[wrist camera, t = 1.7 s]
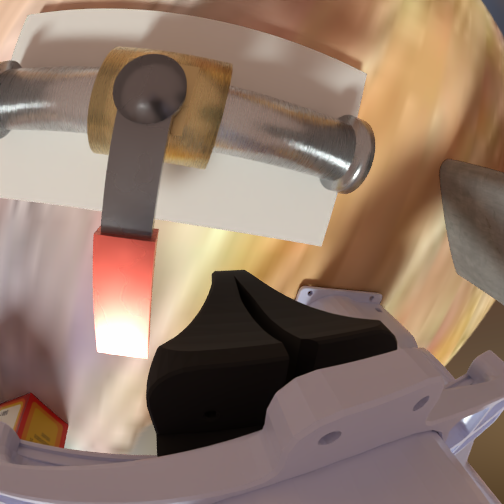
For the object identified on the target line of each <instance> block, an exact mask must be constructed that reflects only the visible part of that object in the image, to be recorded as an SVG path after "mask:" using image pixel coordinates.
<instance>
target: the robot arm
mask: <svg viewBox="0 0 504 504" xmlns="http://www.w3.org/2000/svg"><path fill="white" fill-rule="evenodd" d="M309 291H311V293H309V294H308V292H309ZM370 297H371V298H370ZM369 298H370V299H369ZM381 300H382V295H381V294H380V293H375V292H364V291H353V290H342V289H332V288H322V287H312V286H302V287H301V288H300V289H299V291H298V294H297V297H296V300H293V299H291V298H289V297H287V296H285V295H283V294H282V293H280V292H278V291H276V290H275V289H273V288H271V287H270V286H268V285H267V284H265V283H263V282H262V281H260V280H259V279H258V278H256V277H255V276H253V275H252V274H250V273H249V272H247V271H245V270H233V271H215V272H213V273H212V285H211V288H210V291H209V294H208V296H207V299H206V301H205V303H204V305H203V306H202V308H201V310H200V311H199V313H198V314H197V316H196V317H195V318H194V319H193V321H192V322H191V323H190V324H189V325H188V326H187V327H186V328H185V329H184V330H183V331H182V332H181V333H180V334H178V335H177V336H176V337H174V338H173V339H171V340H169V341H168V342H166V343H164V344H163V345H161V346H159V347H158V348H157V351H156V353H155V356H154V358H153V361H152V364H151V367H150V371H149V375H148V380H147V392H146V400H147V407H148V411H149V414H150V417H151V420H152V423H153V425H154V428H155V431H156V434H157V455H123V454H108V453H97V452H87V451H79V450H72V449H65V448H59V447H54V446H48V445H43V444H38V443H34V442H29V441H25V440H21V439H20V438H19V437H18V435H17V434H16V432H15V431H14V430H13V429H12V428H11V427H10V426H9V425H7V424H6V423H4V422H2V421H0V504H501V503H500V502H499V500H498V499H497V498H496V496H495V495H494V494H493V493H492V491H491V490H490V489H489V488H488V486H487V485H486V484H485V483H484V481H482V479H481V478H480V476H479V475H478V474H477V473H476V472H475V470H474V469H473V468H472V467H471V466H470V464H469V463H468V462H467V459H468V456H469V453H470V450H471V447H472V445H473V442H474V439H475V438H476V437H477V436H479V435H480V434H481V433H482V432H483V431H484V430H485V429H487V428H488V427H489V426H490V425H491V424H492V423H493V422H495V420H496V419H497V418H498V417H499V415H500V414H501V413H502V411H503V410H504V362H503V361H502V360H501V359H500V358H499V357H498V356H497V355H496V354H494V353H493V352H492V351H491V350H488V351H486V352H484V353H483V354H481V355H479V356H478V357H477V358H475V359H474V361H473V362H472V364H471V365H470V367H469V369H468V371H467V373H466V374H464V375H463V376H461V377H459V378H457V379H454V377H453V376H452V375H451V374H450V373H449V372H448V370H447V369H446V368H445V367H444V366H443V365H442V364H441V363H440V362H439V361H438V360H437V359H436V358H435V357H434V356H433V355H432V354H431V353H430V352H429V351H427V350H426V349H425V348H418V346H417V343H416V341H415V339H414V337H413V336H412V335H411V333H410V332H409V331H408V330H406V329H405V328H404V327H403V326H402V325H401V324H400V323H399V322H398V321H397V320H396V319H395V318H394V317H393V316H392V315H391V314H390V313H389V312H388V311H386V310H385V309H384V308H383V307H382V306H381V305H380V302H381Z"/></svg>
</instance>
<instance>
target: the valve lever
mask: <svg viewBox="0 0 504 504" xmlns="http://www.w3.org/2000/svg"><path fill="white" fill-rule="evenodd" d="M186 93H187V79H186V75H185V72H184V70H183V69H182V67H181V66H180V65H179V63H178V62H176V61H175V60H174V59H172V58H170V57H168V56H165V55H162V54H147V55H143V56H140V57H137V58H135V59H133V60H132V61H130V62H129V63H128V64H126V65H125V66H124V67H123V68H122V70H121V71H120V72H119V74H118V75H117V77H116V79H115V82H114V86H113V100H114V104H115V106H116V108H117V113H116V118H115V123H114V128H113V133H112V138H111V144H110V150H109V157H108V163H107V171H106V178H105V187H104V196H103V206H102V219H101V226H100V227H99V228H98V230H97V231H96V232H95V233H94V239H93V299H94V318H95V332H96V343H97V352H102V353H109V354H116V355H123V356H130V357H138V358H147V359H148V348H149V337H150V317H151V301H152V288H153V277H154V266H155V256H156V247H157V239H158V231H159V229H154V222H155V215H156V208H157V201H158V194H159V188H160V182H161V176H162V170H163V164H164V159H165V154H166V148H167V143H168V138H169V134H170V129H171V124H172V120H173V117H174V116H175V115H176V114H177V113H178V112H179V111H180V110H181V108H182V106H183V104H184V102H185V99H186Z"/></svg>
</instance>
